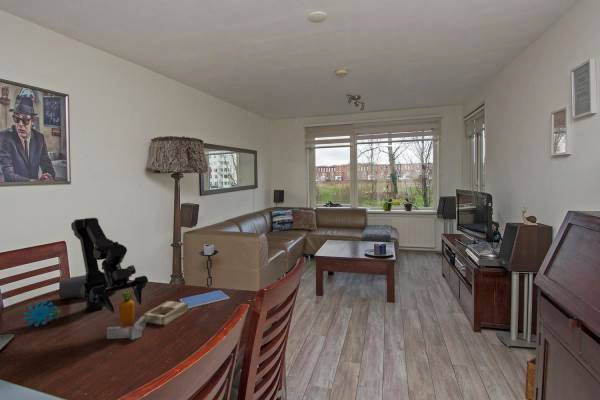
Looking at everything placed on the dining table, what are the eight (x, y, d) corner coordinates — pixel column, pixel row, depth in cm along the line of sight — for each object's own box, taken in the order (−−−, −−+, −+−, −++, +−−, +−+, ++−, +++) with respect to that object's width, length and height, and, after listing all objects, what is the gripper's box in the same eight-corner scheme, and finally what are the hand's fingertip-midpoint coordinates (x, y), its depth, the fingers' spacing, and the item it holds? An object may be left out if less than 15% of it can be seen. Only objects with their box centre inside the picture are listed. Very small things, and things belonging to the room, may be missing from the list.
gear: (18, 326, 117) (28, 300, 123) (22, 332, 121) (32, 306, 127) (55, 324, 121) (63, 299, 128) (57, 330, 125) (65, 306, 132)
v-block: (105, 337, 111) (105, 328, 111) (144, 324, 122) (144, 315, 121) (116, 346, 106) (115, 335, 105) (156, 331, 116) (155, 321, 116)
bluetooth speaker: (117, 288, 162) (117, 268, 161) (118, 294, 154) (117, 273, 153) (62, 296, 150) (60, 276, 150) (59, 303, 142) (58, 281, 142)
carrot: (127, 328, 119) (126, 288, 118) (138, 329, 117) (137, 289, 117) (116, 334, 114) (115, 292, 113) (127, 335, 112) (126, 293, 112)
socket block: (143, 321, 124) (143, 314, 123) (167, 307, 137) (167, 300, 137) (165, 325, 121) (164, 317, 121) (187, 310, 134) (187, 303, 134)
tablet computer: (187, 310, 136) (187, 307, 136) (179, 301, 146) (178, 298, 146) (230, 300, 147) (230, 297, 147) (219, 292, 157) (219, 289, 157)
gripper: (90, 264, 110) (103, 304, 103) (145, 254, 124) (160, 289, 118) (83, 282, 115) (96, 321, 109) (136, 271, 130) (150, 304, 123)
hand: (127, 308), depth 115 cm, fingers open, 9 cm apart
